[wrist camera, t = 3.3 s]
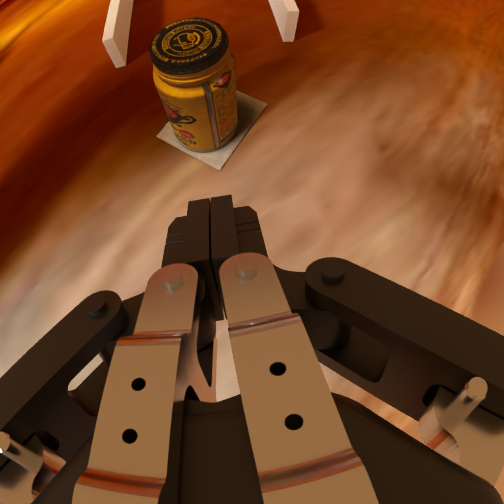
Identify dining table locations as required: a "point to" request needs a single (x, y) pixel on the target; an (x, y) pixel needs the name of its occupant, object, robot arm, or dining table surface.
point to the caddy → (121, 18)
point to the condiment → (200, 90)
